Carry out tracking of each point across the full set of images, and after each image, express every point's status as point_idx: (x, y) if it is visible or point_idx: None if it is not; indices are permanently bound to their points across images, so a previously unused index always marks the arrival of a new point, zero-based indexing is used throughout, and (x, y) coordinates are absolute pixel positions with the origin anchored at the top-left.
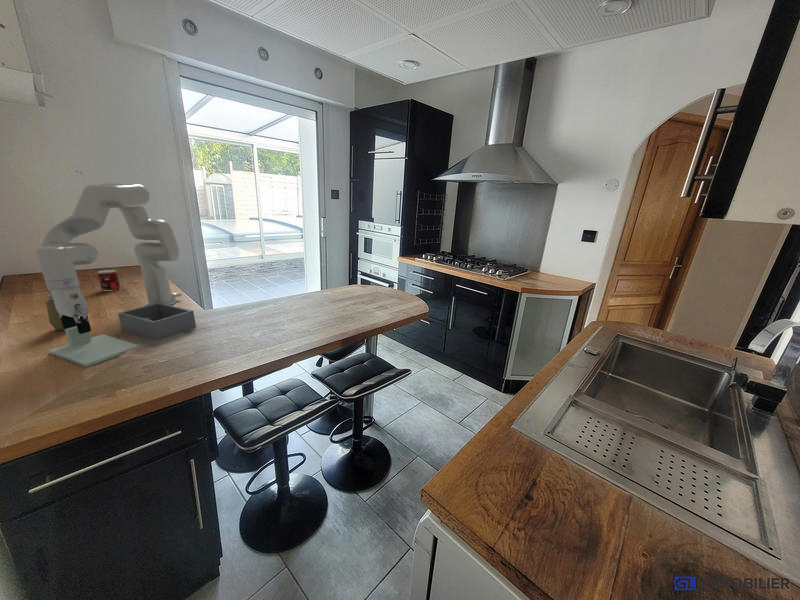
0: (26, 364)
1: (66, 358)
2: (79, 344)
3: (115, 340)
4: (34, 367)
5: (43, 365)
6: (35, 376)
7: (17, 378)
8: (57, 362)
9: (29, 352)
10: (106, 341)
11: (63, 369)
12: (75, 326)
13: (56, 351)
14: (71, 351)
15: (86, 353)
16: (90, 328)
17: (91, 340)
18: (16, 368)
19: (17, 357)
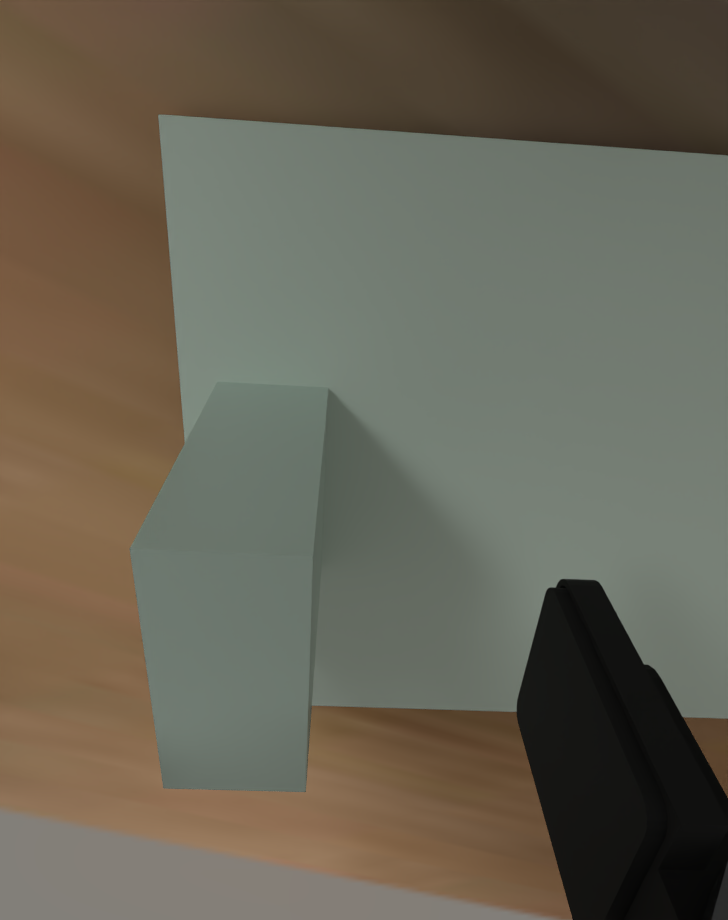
0: (319, 805)
1: None
2: (325, 515)
3: (702, 220)
4: (447, 806)
5: (474, 776)
6: None
7: (536, 885)
8: None
9: (5, 717)
10: (588, 309)
11: (722, 758)
12: (151, 666)
13: (322, 691)
14: (476, 641)
15: (707, 614)
16: (611, 617)
17: (318, 379)
18: (337, 845)
19: (68, 783)
